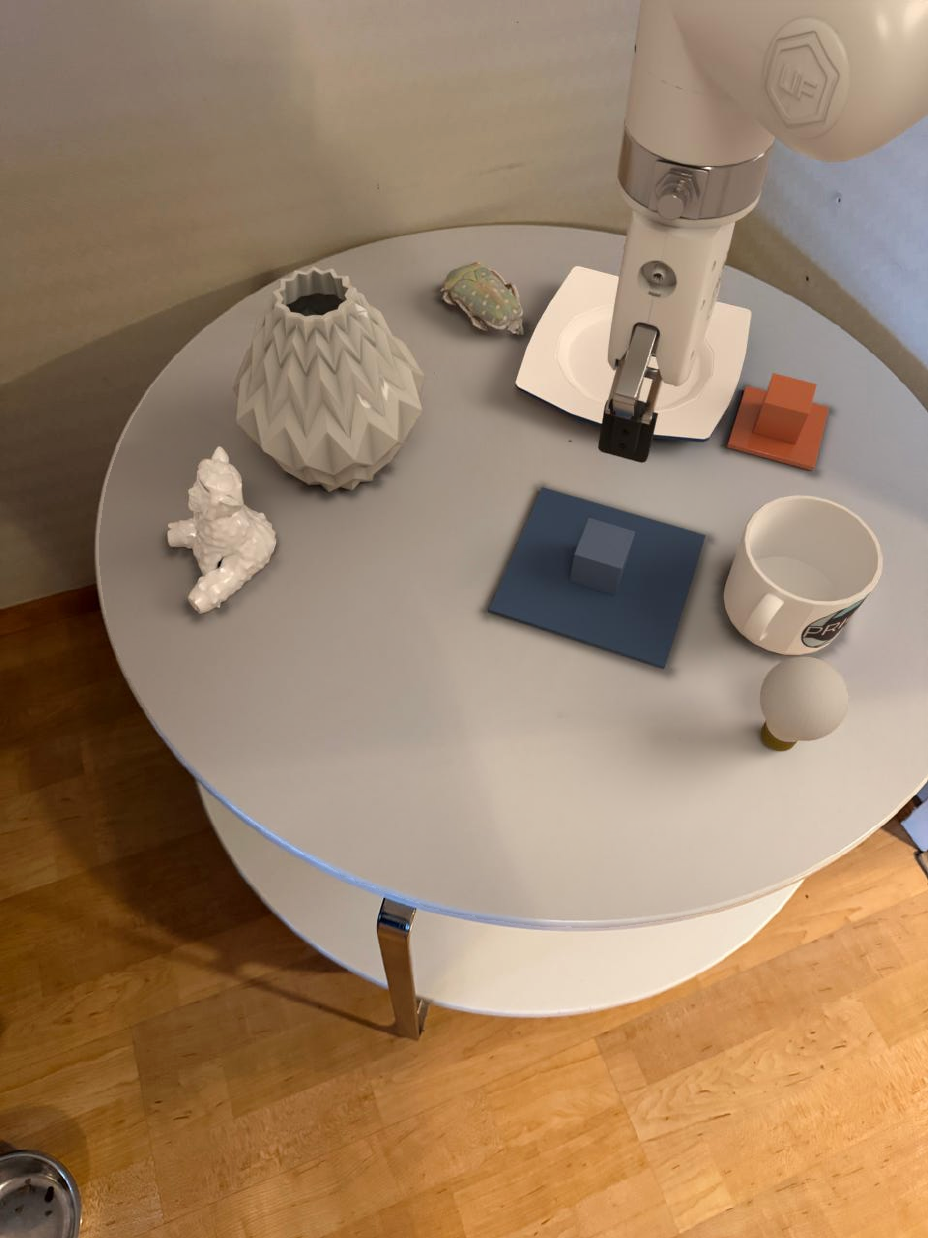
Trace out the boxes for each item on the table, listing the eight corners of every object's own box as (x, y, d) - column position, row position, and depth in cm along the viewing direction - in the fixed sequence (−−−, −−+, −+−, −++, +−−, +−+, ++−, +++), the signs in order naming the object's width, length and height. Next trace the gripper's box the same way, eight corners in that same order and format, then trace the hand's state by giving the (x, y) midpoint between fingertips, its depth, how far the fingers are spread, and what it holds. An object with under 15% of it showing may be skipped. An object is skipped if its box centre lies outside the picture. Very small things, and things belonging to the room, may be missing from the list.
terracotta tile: (827, 411, 91) (829, 406, 90) (812, 471, 87) (814, 466, 86) (744, 389, 92) (746, 384, 92) (726, 447, 88) (728, 442, 88)
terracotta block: (803, 415, 89) (816, 383, 86) (795, 444, 88) (809, 414, 84) (761, 403, 90) (773, 372, 87) (752, 433, 88) (764, 402, 85)
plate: (566, 278, 100) (568, 257, 98) (756, 327, 97) (763, 306, 94) (500, 409, 90) (501, 389, 88) (709, 469, 87) (716, 450, 84)
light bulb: (797, 790, 70) (843, 733, 62) (723, 751, 72) (759, 690, 63) (825, 729, 73) (874, 666, 64) (754, 692, 75) (792, 627, 66)
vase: (261, 541, 82) (214, 384, 66) (245, 406, 91) (200, 238, 75) (444, 511, 84) (441, 351, 68) (412, 381, 92) (402, 212, 77)
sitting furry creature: (166, 535, 82) (125, 441, 72) (261, 504, 84) (234, 407, 74) (196, 620, 78) (156, 532, 68) (295, 584, 80) (271, 494, 70)
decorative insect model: (527, 264, 100) (522, 229, 96) (525, 349, 96) (520, 317, 92) (445, 270, 102) (437, 236, 97) (440, 354, 98) (430, 323, 93)
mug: (759, 533, 83) (786, 473, 76) (869, 598, 79) (907, 540, 72) (675, 635, 77) (696, 580, 70) (790, 709, 74) (824, 658, 67)
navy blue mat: (704, 537, 83) (705, 534, 82) (664, 669, 76) (665, 666, 75) (541, 489, 85) (541, 486, 85) (488, 612, 78) (488, 609, 78)
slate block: (627, 559, 81) (635, 531, 77) (614, 596, 79) (622, 568, 75) (583, 545, 82) (588, 517, 78) (569, 581, 80) (574, 554, 76)
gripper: (729, 278, 43) (665, 513, 58) (796, 86, 52) (726, 333, 67) (572, 242, 45) (548, 481, 59) (663, 62, 54) (623, 308, 68)
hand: (642, 402), depth 63 cm, fingers open, 9 cm apart
